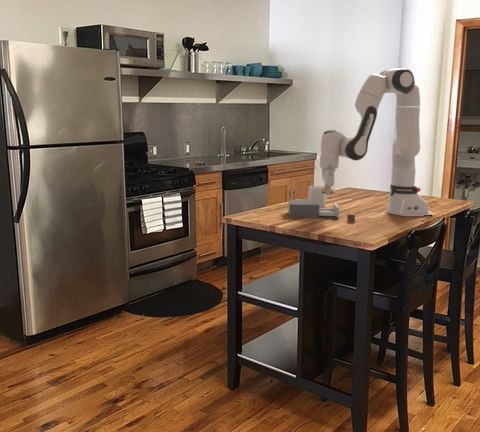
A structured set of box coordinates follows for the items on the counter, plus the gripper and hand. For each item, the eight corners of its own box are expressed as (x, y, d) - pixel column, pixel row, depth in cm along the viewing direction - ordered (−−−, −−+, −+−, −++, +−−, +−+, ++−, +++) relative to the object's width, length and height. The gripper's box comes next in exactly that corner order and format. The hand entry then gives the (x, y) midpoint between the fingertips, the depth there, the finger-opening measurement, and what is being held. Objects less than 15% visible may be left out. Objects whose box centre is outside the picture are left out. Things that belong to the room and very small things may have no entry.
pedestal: (353, 220, 252) (354, 213, 251) (354, 222, 249) (355, 214, 248) (347, 220, 252) (347, 213, 252) (348, 222, 249) (348, 214, 249)
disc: (332, 192, 262) (332, 188, 262) (334, 194, 257) (334, 190, 256) (320, 191, 263) (320, 187, 262) (321, 193, 257) (321, 189, 256)
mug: (318, 210, 274) (319, 189, 272) (304, 208, 281) (305, 187, 278) (332, 208, 283) (333, 187, 280) (318, 205, 289) (319, 185, 287)
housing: (335, 213, 268) (335, 201, 267) (338, 219, 255) (339, 205, 254) (288, 212, 269) (288, 199, 268) (289, 217, 257) (289, 204, 255)
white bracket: (336, 211, 268) (337, 202, 267) (339, 217, 255) (340, 207, 254) (308, 210, 269) (308, 201, 268) (309, 216, 256) (310, 206, 255)
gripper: (338, 166, 247) (336, 196, 249) (333, 162, 267) (331, 189, 269) (324, 166, 247) (322, 196, 250) (320, 161, 267) (318, 189, 270)
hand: (327, 192), depth 260 cm, fingers closed on disc, 6 cm apart
